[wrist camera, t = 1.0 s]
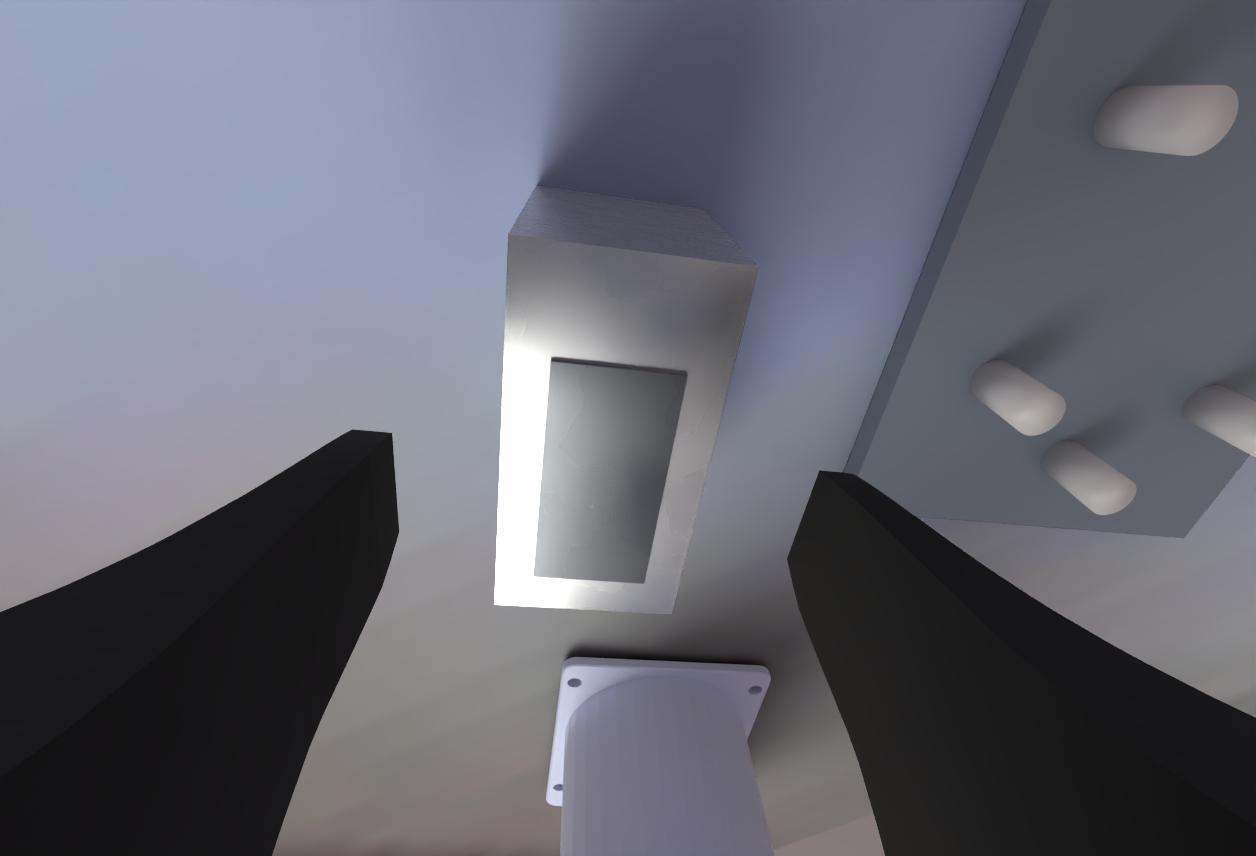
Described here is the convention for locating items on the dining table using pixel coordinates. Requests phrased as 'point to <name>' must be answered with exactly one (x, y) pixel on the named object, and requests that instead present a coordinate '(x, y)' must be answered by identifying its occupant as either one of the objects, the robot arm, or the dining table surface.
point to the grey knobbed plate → (1087, 283)
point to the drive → (611, 395)
